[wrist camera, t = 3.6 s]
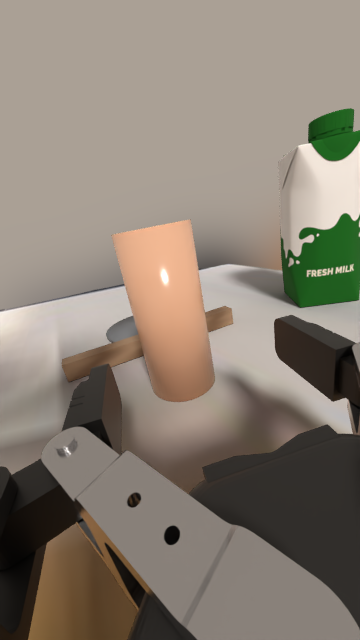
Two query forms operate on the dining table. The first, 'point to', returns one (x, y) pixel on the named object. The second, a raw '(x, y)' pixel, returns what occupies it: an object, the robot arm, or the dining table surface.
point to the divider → (128, 348)
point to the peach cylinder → (168, 308)
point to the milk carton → (322, 213)
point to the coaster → (122, 330)
